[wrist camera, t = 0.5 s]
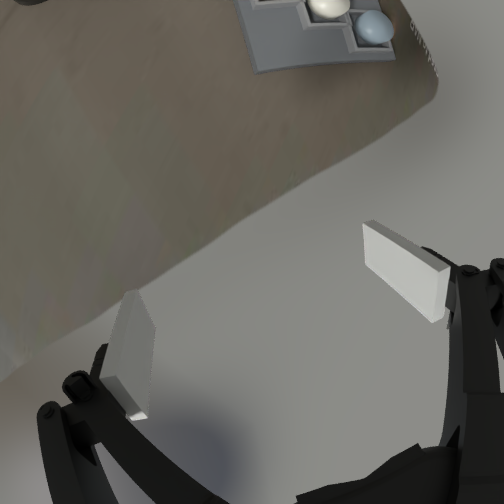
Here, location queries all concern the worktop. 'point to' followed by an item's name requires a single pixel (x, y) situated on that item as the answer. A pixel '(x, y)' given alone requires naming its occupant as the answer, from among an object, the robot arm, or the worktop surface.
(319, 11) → the ivory button
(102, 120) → the worktop surface
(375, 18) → the slate button
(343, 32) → the panel
